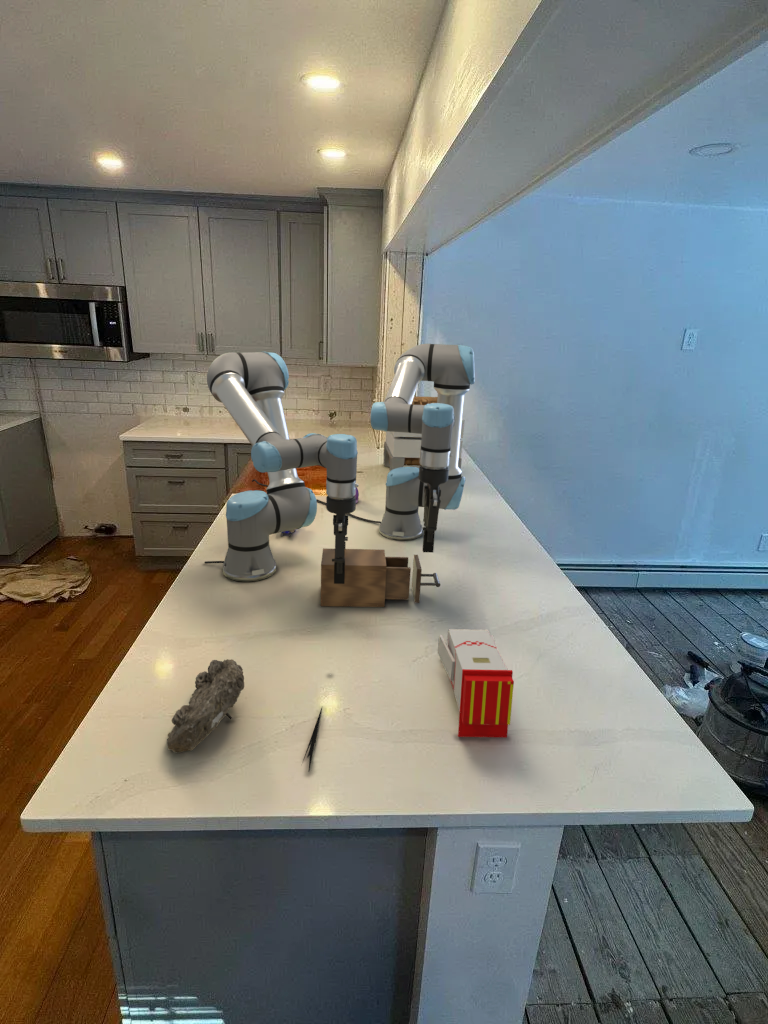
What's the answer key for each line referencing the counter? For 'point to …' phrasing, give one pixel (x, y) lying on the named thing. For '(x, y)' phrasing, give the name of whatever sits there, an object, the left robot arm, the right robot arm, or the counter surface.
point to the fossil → (206, 705)
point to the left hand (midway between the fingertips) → (339, 573)
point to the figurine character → (288, 532)
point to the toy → (478, 682)
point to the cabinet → (354, 579)
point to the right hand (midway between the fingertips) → (427, 551)
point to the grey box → (409, 443)
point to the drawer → (405, 578)
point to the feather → (313, 740)
